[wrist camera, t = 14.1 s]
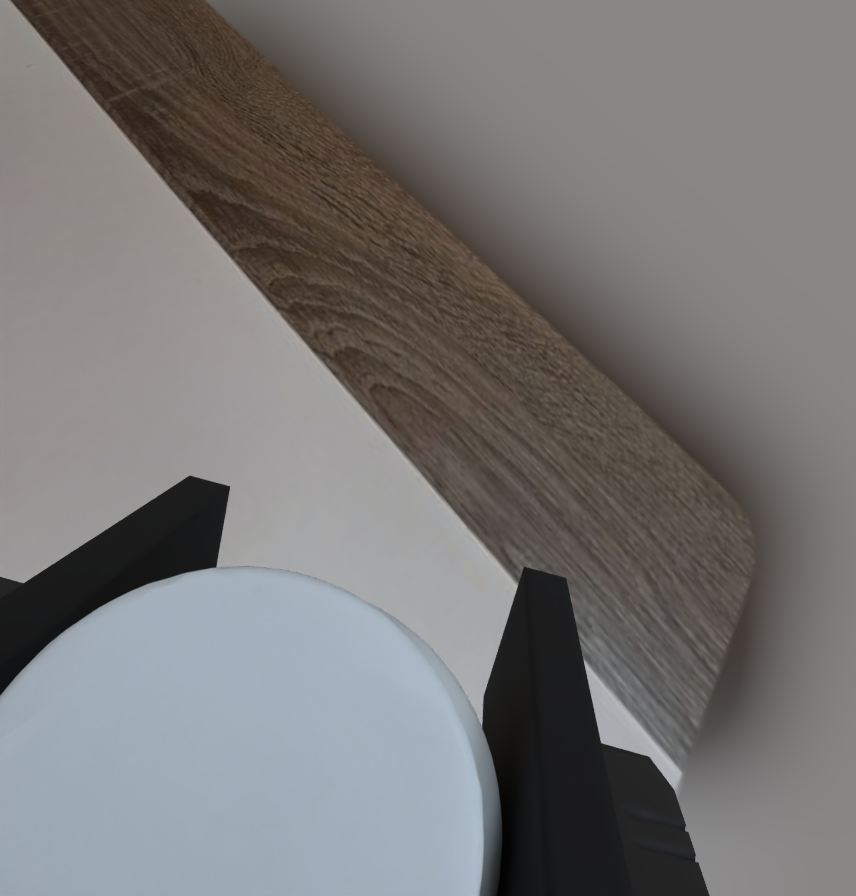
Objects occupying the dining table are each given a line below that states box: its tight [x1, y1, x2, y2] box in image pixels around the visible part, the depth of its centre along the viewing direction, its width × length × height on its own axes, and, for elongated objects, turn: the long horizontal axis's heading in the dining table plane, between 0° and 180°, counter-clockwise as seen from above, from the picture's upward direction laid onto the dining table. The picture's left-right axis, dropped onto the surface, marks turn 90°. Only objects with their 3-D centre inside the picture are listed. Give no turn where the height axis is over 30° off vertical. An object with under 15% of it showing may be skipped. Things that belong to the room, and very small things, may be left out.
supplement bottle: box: [0, 566, 502, 896], centre depth 9 cm, size 5×5×10 cm
